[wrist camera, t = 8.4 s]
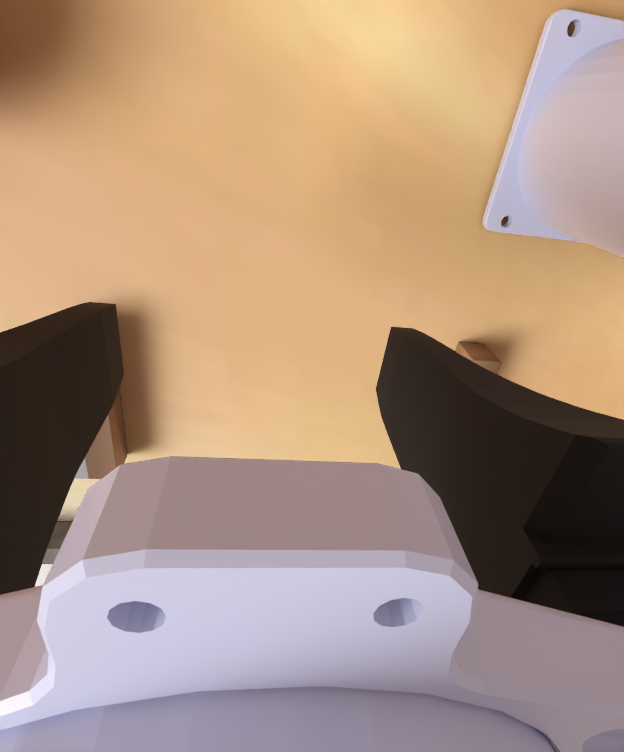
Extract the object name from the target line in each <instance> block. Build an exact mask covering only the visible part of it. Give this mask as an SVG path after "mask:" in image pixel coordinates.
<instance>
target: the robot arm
mask: <svg viewBox="0 0 624 752" xmlns="http://www.w3.org/2000/svg"><path fill="white" fill-rule="evenodd" d="M571 21H572V22H573V23H574V25H575V29H574V32H573V34H572V36H571V37H570V36H568V34H567V28H568V25H569V24H570V22H571ZM505 216H508V221H507V223H506V224H505V225H501V221H502V219H503V218H504V217H505ZM482 222H483V226H484V227H485V228H486V229H487V230H490V231H493V232H501V233H509V234H518V235H526V236H535V237H543V238H551V239H560V240H568V241H577V242H585V243H588V244H590V245H593V246H595V247H597V248H600V249H602V250H604V251H607V252H609V253H612V254H614V255H616V256H619V257H621V258H623V259H624V20H619V19H614V18H609V17H604V16H599V15H594V14H589V13H585V12H580V11H575V10H570V9H561V10H558V11H556V12H554V13H552V14H551V16H550V17H549V18H548V19H547V21H546V23H545V25H544V29H543V32H542V35H541V38H540V41H539V44H538V47H537V50H536V54H535V57H534V60H533V63H532V66H531V69H530V72H529V75H528V79H527V82H526V85H525V88H524V91H523V94H522V97H521V100H520V104H519V107H518V110H517V113H516V116H515V119H514V122H513V125H512V129H511V132H510V135H509V138H508V141H507V144H506V147H505V150H504V154H503V157H502V160H501V163H500V166H499V169H498V172H497V175H496V179H495V182H494V185H493V188H492V191H491V194H490V197H489V200H488V204H487V207H486V210H485V213H484V216H483V221H482ZM122 377H123V365H122V356H121V347H120V338H119V329H118V320H117V311H116V304H107V303H94V302H88V303H83V304H79V305H76V306H73V307H70V308H67V309H64V310H62V311H59V312H56V313H54V314H51V315H48V316H46V317H43V318H40V319H38V320H35V321H32V322H30V323H27V324H24V325H21V326H18V327H15V328H12V329H9V330H7V331H4V332H1V333H0V752H624V420H622V419H618V418H615V417H611V416H607V415H603V414H600V413H596V412H593V411H589V410H586V409H583V408H579V407H576V406H573V405H570V404H568V403H565V402H562V401H559V400H556V399H553V398H550V397H547V396H545V395H542V394H540V393H537V392H535V391H532V390H530V389H527V388H525V387H523V386H521V385H518V384H516V383H514V382H511V381H509V380H507V379H505V378H503V377H501V376H499V375H497V374H495V373H493V372H491V371H489V370H487V369H485V368H483V367H482V366H480V365H478V364H476V363H474V362H472V361H471V360H469V359H467V358H465V357H464V356H462V355H460V354H459V353H457V352H455V351H454V350H452V349H450V348H449V347H447V346H445V345H443V344H442V343H440V342H438V341H437V340H435V339H433V338H432V337H430V336H428V335H426V334H424V333H422V332H420V331H418V330H415V329H412V328H400V327H391V330H390V334H389V338H388V342H387V346H386V350H385V354H384V358H383V362H382V366H381V371H380V375H379V379H378V383H377V387H376V392H377V397H378V403H379V407H380V412H381V416H382V419H383V422H384V425H385V428H386V430H387V433H388V436H389V438H390V441H391V444H392V446H393V449H394V451H395V454H396V456H397V459H398V462H399V464H400V467H401V469H398V468H394V467H390V466H386V465H382V464H378V463H352V462H323V461H294V460H265V459H236V458H207V457H178V456H170V457H163V458H157V459H151V460H145V461H139V462H133V463H126V464H121V465H119V466H118V467H117V468H115V469H114V470H113V471H111V472H110V473H109V474H107V475H106V476H105V477H103V478H102V479H101V480H99V481H98V482H97V483H95V484H94V485H93V486H91V487H90V488H89V489H88V490H87V492H86V494H85V496H84V498H83V501H82V503H81V505H80V507H79V509H78V511H77V513H76V516H75V518H74V520H73V522H72V524H71V526H70V528H69V531H68V533H67V535H66V537H65V539H64V541H63V544H62V546H61V548H60V550H59V552H58V554H57V556H56V559H55V561H54V563H53V565H52V567H51V569H50V572H49V574H48V576H47V578H46V580H45V582H44V584H43V585H42V586H37V587H34V586H35V583H36V580H37V577H38V574H39V571H40V568H41V565H42V562H43V559H44V556H45V553H46V550H47V548H48V545H49V542H50V539H51V536H52V534H53V531H54V528H55V525H56V522H57V520H58V517H59V515H60V512H61V509H62V507H63V504H64V502H65V499H66V497H67V494H68V491H69V489H70V486H71V484H72V482H73V480H74V478H75V476H76V474H77V471H78V469H79V468H80V466H81V464H82V462H83V460H84V458H85V457H86V455H87V453H88V451H89V449H90V447H91V445H92V444H93V442H94V440H95V438H96V436H97V434H98V432H99V431H100V429H101V427H102V425H103V423H104V421H105V419H106V417H107V416H108V414H109V412H110V410H111V408H112V406H113V404H114V401H115V398H116V395H117V393H118V390H119V387H120V383H121V380H122Z"/></svg>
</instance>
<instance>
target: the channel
mask: <svg viewBox="0 0 624 752" xmlns="http://www.w3.org/2000/svg"><path fill="white" fill-rule="evenodd" d="M455 352H457V353H459V354H460V355H462V356H464V357H465V358H467V359H469V360H471V361H472V362H474V363H476V364H478V365H480V366H482V367H483V368H485V369H487V370H489V371H491V372H493V373H495V374H496V373H497V371H498V368H499V366H500V363H501V362H500V361H499V360H498V359H497V358H496V357H495V355H494V354H493V353H492V352H491V351H490V350H489V349H488V348H487V347H486V346H485V345H484V344H475V343H463V342H458V345H457V348H456V351H455ZM126 457H127V449H126V440H125V432H124V424H123V415H122V407H121V399H120V390H118V393H117V395H116V398H115V401H114V404H113V406H112V408H111V410H110V412H109V414H108V416H107V417H106V419H105V421H104V423H103V425H102V427H101V429H100V431H99V432H98V434H97V436H96V438H95V440H94V442H93V444H92V445H91V447H90V449H89V451H88V453H87V455H86V457H85V458H84V460H83V462H82V464H81V466H80V468H79V469H78V471H77V474H76V476H75V478H86V479H102V478H103V477H105V476H106V475H107V474H109V473H110V472H111V471H113V470H114V469H115V468H117V467H118V466H119V465H121V464H124V462H125V459H126ZM71 524H72V522H56V525H55V528H54V531H53V534H52V536H51V539H50V542H49V545H48V548H47V550H46V553H45V556H44V559H43V562H42V564H53V563H54V561H55V559H56V556H57V554H58V552H59V550H60V548H61V546H62V544H63V541H64V539H65V537H66V535H67V533H68V531H69V528H70V526H71Z"/></svg>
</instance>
